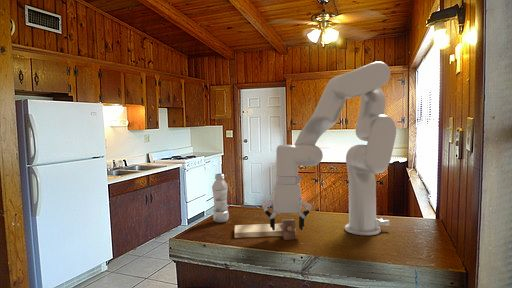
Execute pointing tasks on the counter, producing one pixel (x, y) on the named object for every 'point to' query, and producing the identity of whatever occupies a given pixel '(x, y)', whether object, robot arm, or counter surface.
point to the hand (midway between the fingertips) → (287, 229)
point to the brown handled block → (288, 229)
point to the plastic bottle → (220, 199)
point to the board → (258, 230)
